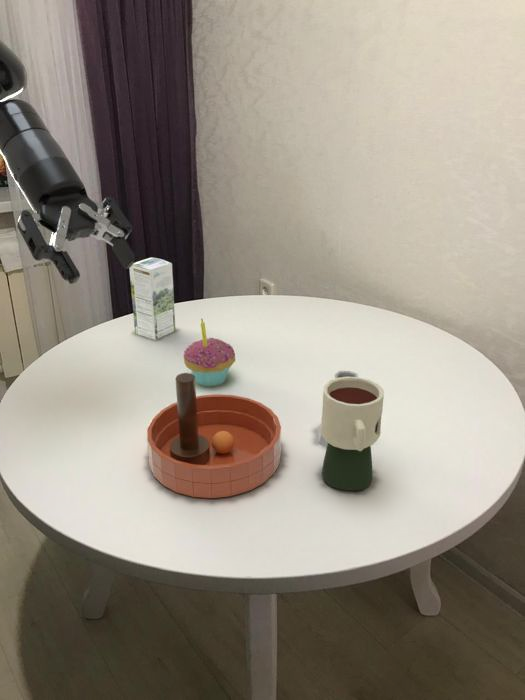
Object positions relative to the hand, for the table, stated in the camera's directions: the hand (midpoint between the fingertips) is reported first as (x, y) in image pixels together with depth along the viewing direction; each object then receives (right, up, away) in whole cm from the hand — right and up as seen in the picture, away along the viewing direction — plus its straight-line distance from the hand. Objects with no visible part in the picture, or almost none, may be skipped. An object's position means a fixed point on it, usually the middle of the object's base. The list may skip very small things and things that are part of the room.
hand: (104, 272), depth 78 cm
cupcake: (+12, -16, +21) cm, 29 cm away
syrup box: (0, -7, +38) cm, 39 cm away
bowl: (+15, -25, +1) cm, 29 cm away
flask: (+32, -23, +5) cm, 40 cm away
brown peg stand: (+11, -24, 0) cm, 27 cm away
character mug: (+31, -27, -3) cm, 41 cm away
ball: (+16, -23, +1) cm, 27 cm away
